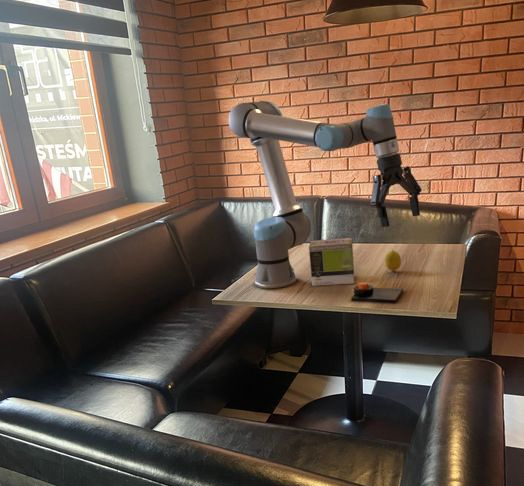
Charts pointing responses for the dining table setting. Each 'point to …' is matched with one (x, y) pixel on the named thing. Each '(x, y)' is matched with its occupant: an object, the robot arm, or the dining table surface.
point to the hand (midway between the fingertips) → (401, 221)
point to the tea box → (331, 261)
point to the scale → (376, 294)
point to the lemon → (393, 260)
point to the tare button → (363, 285)
